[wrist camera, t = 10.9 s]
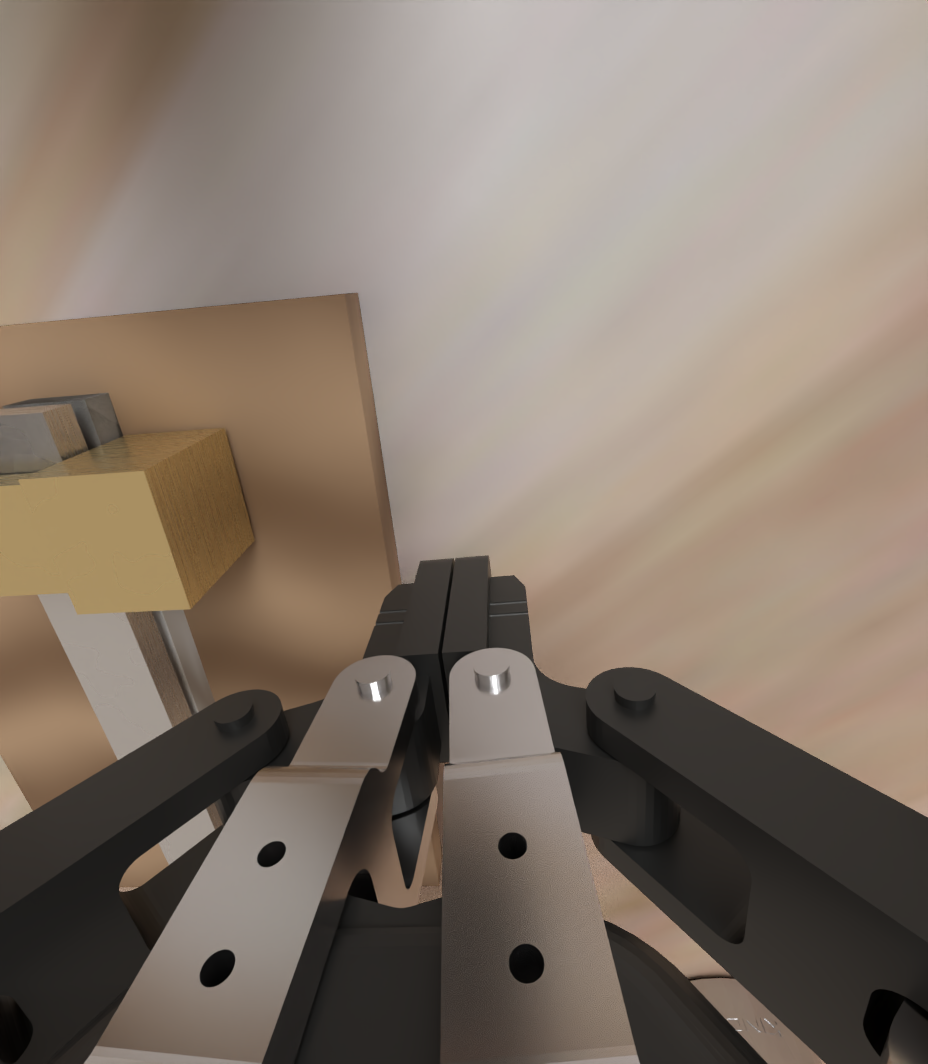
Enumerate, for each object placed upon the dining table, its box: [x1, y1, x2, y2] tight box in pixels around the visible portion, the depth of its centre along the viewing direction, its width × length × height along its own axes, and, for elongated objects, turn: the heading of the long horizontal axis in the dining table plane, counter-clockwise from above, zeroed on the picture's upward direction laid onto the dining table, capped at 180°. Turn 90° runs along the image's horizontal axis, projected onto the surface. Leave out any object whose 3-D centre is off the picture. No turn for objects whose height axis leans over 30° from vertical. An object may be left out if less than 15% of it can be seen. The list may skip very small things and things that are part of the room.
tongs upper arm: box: [0, 404, 222, 865], centre depth 18 cm, size 20×2×1 cm, turn 5°
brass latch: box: [0, 428, 255, 615], centre depth 15 cm, size 4×7×4 cm, turn 95°
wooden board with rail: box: [0, 293, 442, 887], centre depth 19 cm, size 24×17×4 cm
